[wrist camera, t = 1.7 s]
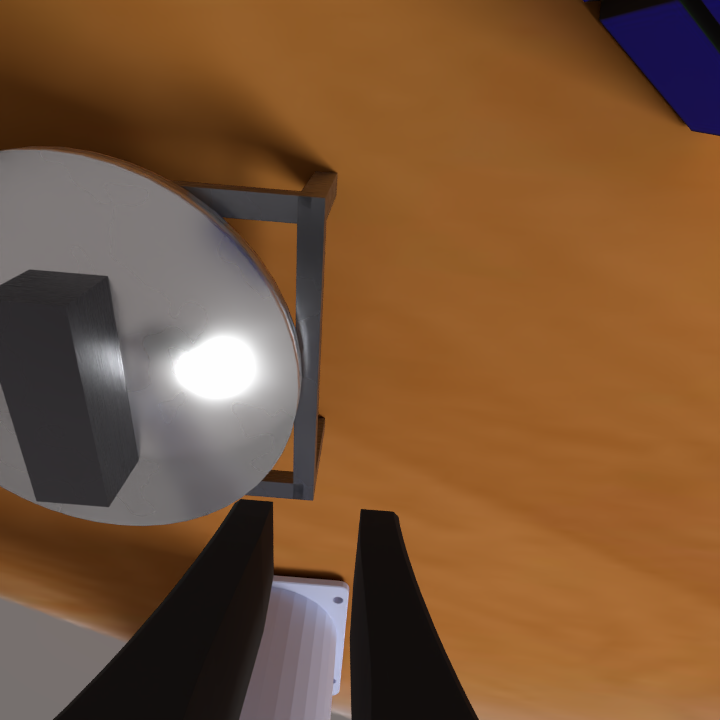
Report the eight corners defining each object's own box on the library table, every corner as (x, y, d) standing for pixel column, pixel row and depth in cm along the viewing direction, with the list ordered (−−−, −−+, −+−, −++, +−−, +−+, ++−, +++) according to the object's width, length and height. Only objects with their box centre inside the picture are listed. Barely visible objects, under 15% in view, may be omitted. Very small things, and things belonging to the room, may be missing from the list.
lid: (298, 521, 18) (285, 591, 16) (-38, 493, 18) (-104, 559, 16) (306, 167, 12) (288, 188, 10) (-183, 125, 12) (-323, 137, 10)
